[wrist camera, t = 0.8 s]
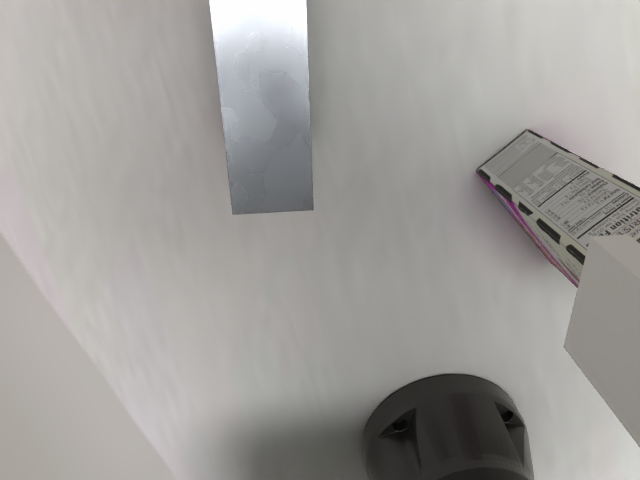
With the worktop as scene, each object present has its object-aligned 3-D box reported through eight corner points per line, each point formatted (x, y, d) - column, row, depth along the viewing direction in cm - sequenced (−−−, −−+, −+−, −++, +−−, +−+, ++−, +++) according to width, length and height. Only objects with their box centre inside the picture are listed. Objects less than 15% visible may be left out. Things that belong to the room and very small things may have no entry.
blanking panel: (301, 144, 37) (313, 210, 26) (244, 147, 37) (232, 214, 26) (294, -14, 33) (305, -13, 22) (229, -12, 32) (208, -10, 22)
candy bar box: (603, 224, 42) (783, 354, 27) (550, 263, 43) (695, 409, 28) (528, 121, 38) (692, 210, 23) (472, 168, 39) (593, 281, 24)
